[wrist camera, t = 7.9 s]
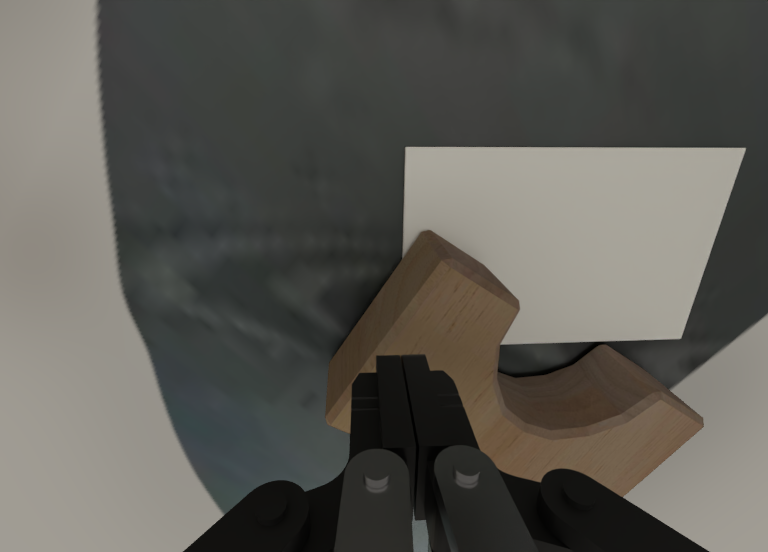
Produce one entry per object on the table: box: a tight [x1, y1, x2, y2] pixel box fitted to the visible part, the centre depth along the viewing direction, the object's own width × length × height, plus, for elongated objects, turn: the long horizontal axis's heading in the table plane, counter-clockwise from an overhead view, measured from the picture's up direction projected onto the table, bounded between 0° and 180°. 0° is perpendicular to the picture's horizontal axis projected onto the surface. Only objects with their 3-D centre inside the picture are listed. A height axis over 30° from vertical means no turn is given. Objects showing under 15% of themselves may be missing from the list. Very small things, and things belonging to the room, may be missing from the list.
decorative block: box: [325, 230, 704, 497], centre depth 23 cm, size 11×6×20 cm
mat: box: [402, 147, 746, 345], centre depth 23 cm, size 20×12×1 cm, turn 90°
